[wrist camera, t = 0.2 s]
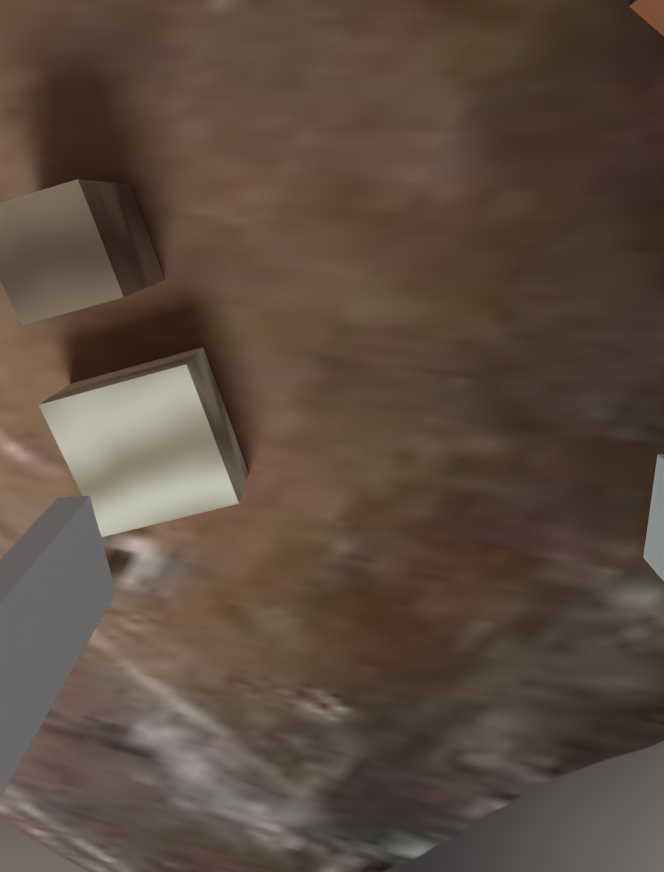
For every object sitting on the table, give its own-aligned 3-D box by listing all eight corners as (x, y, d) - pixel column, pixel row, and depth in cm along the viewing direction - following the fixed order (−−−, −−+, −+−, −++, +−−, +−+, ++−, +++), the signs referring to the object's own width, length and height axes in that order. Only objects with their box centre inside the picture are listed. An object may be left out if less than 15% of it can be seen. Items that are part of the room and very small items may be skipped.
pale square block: (72, 382, 42) (38, 404, 37) (203, 346, 41) (186, 364, 36) (126, 502, 45) (102, 536, 41) (249, 471, 44) (238, 503, 39)
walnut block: (42, 210, 37) (-31, 212, 30) (130, 184, 37) (77, 179, 29) (81, 302, 39) (21, 325, 32) (164, 279, 39) (123, 297, 31)
